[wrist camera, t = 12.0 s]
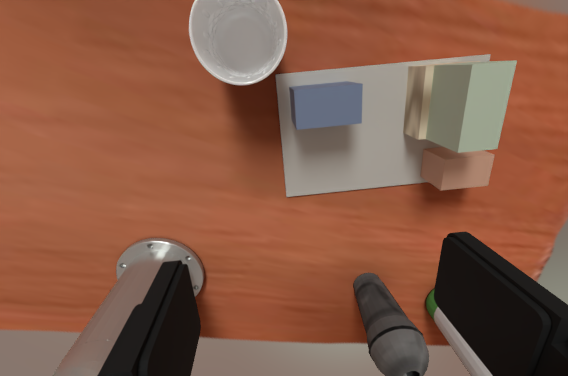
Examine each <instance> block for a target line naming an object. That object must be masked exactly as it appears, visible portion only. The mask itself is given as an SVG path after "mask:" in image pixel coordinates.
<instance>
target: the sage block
mask: <svg viewBox="0 0 568 376" xmlns="http://www.w3.org/2000/svg"><path fill="white" fill-rule="evenodd" d="M516 62H517V61H489V62H466V63H455V64H444V65H434V73H433V81H432V90H431V98H430V107H429V115H428V124H427V132H426V139H427V140H429V141H432V142H434V143H436V144H439V145H441V146H443V147H445V148H448V149H450V150H452V151H455V152H457V153H461V152H471V151H481V150H491V149H497V148H498V143H499V139H500V134H501V130H502V125H503V121H504V116H505V112H506V107H507V103H508V98H509V94H510V89H511V85H512V80H513V76H514V71H515V67H516Z"/></svg>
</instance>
